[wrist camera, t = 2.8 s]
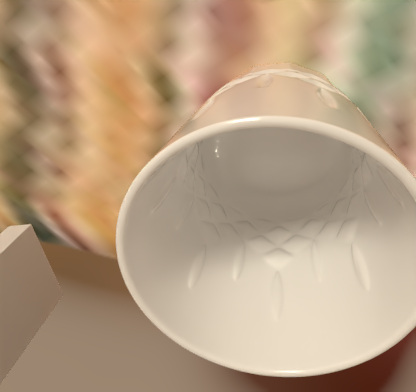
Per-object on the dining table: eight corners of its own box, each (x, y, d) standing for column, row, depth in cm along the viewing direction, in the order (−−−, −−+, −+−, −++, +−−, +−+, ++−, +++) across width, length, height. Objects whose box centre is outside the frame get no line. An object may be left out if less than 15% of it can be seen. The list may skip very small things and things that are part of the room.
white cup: (379, 186, 18) (461, 364, 10) (225, 221, 21) (183, 388, 12) (344, 17, 15) (420, 59, 7) (169, 82, 18) (59, 174, 9)
